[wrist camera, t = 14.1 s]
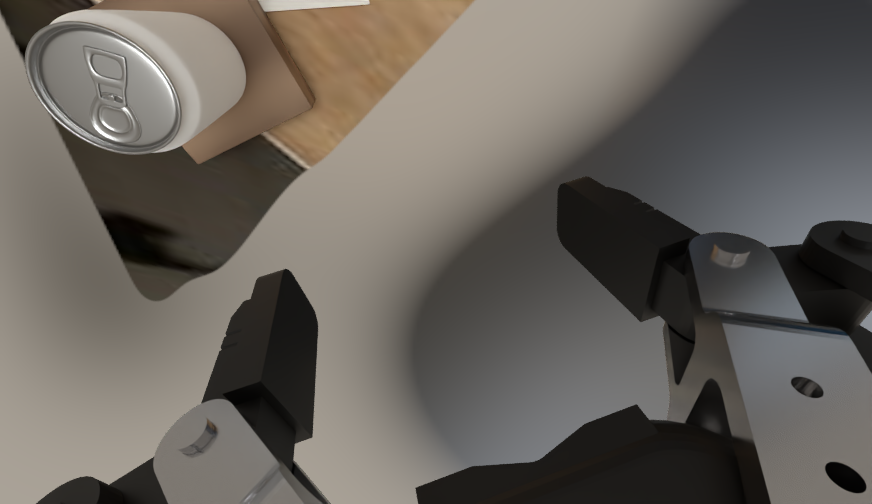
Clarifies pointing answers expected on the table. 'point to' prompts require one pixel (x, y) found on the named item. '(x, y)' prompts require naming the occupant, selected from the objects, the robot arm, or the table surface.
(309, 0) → the page
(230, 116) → the base block
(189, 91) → the can
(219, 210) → the table surface
